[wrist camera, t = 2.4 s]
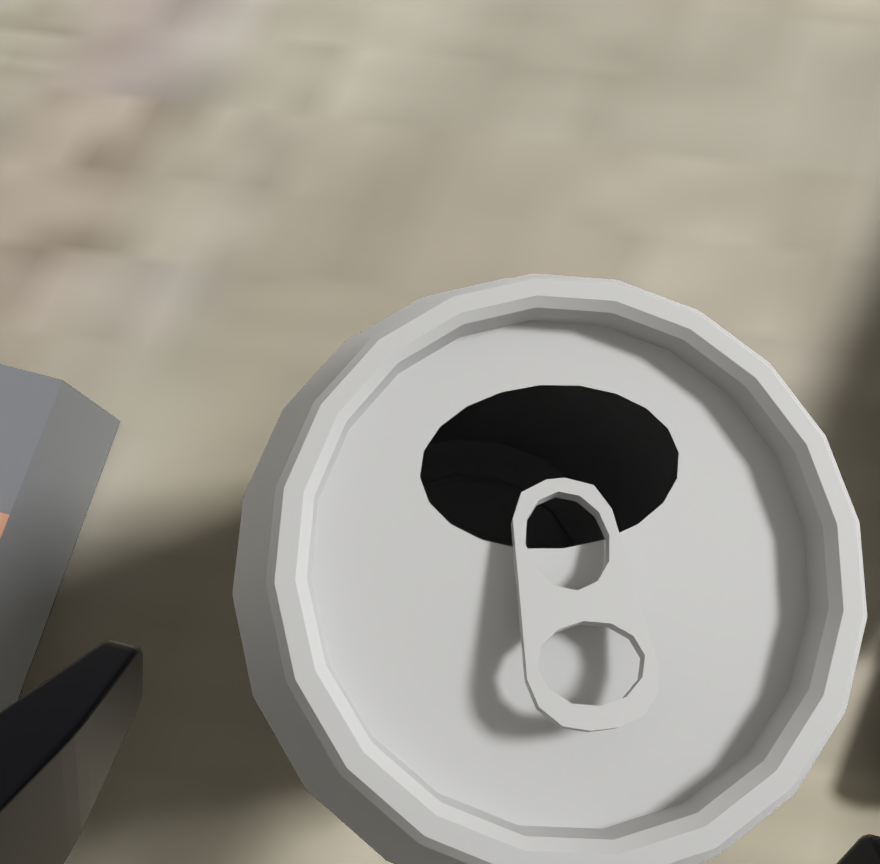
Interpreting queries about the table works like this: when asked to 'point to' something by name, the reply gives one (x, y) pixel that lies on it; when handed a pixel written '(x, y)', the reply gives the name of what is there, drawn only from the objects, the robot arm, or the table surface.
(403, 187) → the table surface
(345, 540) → the can
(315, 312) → the table surface
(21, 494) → the comb rack
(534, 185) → the table surface
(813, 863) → the table surface
